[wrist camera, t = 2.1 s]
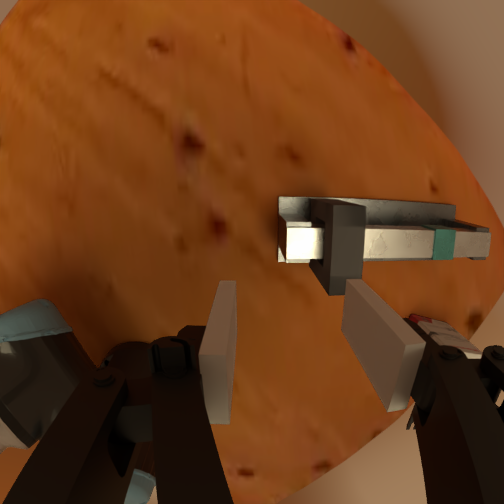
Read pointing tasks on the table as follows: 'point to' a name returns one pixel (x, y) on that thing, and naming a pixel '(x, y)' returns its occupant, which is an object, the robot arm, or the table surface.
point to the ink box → (446, 335)
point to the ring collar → (339, 243)
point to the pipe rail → (373, 218)
